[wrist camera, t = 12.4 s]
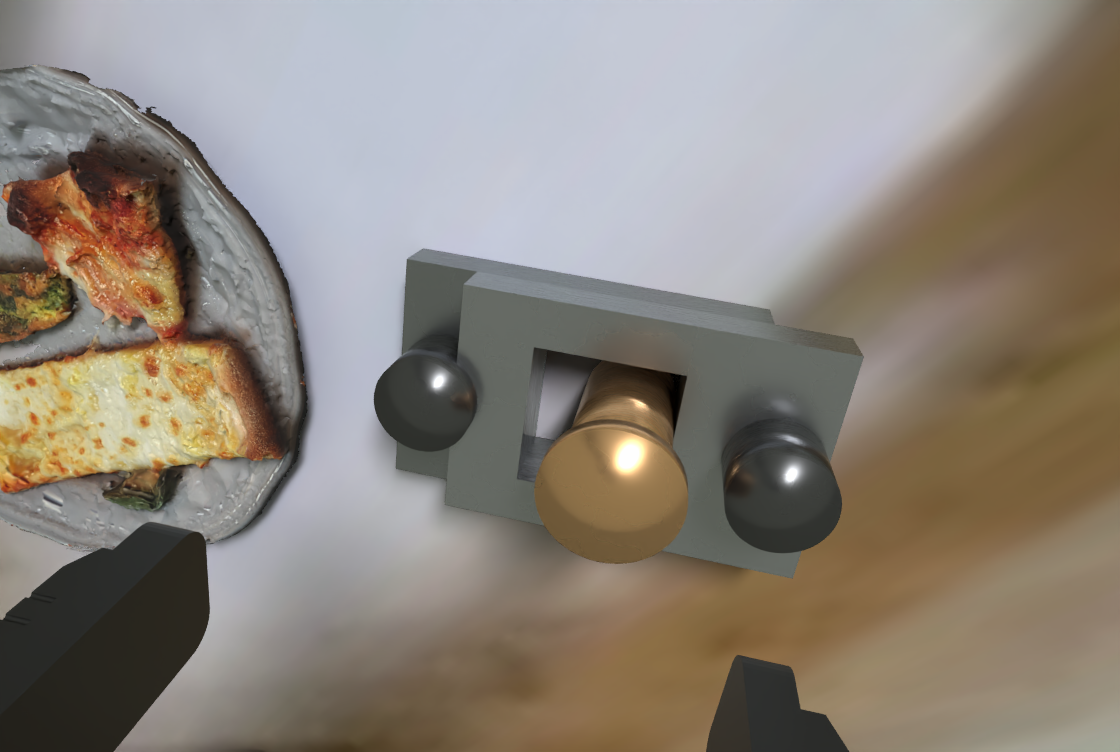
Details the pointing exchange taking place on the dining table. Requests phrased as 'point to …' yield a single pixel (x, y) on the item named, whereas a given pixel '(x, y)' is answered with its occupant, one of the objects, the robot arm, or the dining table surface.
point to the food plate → (133, 326)
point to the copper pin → (616, 469)
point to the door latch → (633, 339)
